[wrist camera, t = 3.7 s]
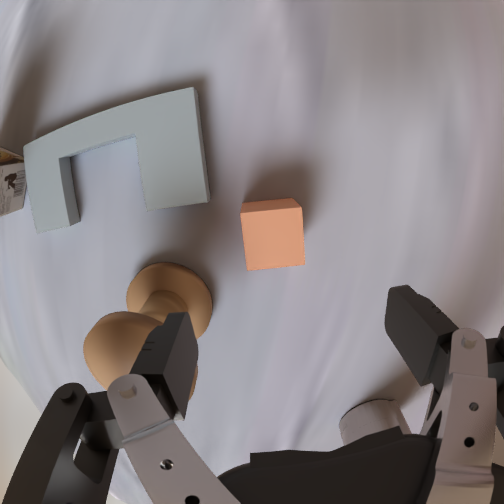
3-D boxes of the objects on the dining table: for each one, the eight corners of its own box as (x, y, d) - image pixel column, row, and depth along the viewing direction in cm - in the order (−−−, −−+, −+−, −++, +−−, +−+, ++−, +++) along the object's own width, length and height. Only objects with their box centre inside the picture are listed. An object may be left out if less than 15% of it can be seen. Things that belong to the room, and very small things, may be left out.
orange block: (292, 197, 25) (301, 207, 20) (295, 245, 26) (305, 264, 21) (242, 202, 25) (240, 213, 20) (247, 250, 26) (247, 270, 22)
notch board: (197, 92, 21) (193, 86, 19) (210, 198, 25) (207, 202, 23) (33, 145, 22) (22, 146, 20) (47, 229, 25) (36, 233, 23)
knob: (204, 257, 26) (176, 320, 16) (219, 334, 29) (206, 412, 19) (122, 266, 27) (66, 322, 16) (144, 337, 30) (110, 405, 19)
